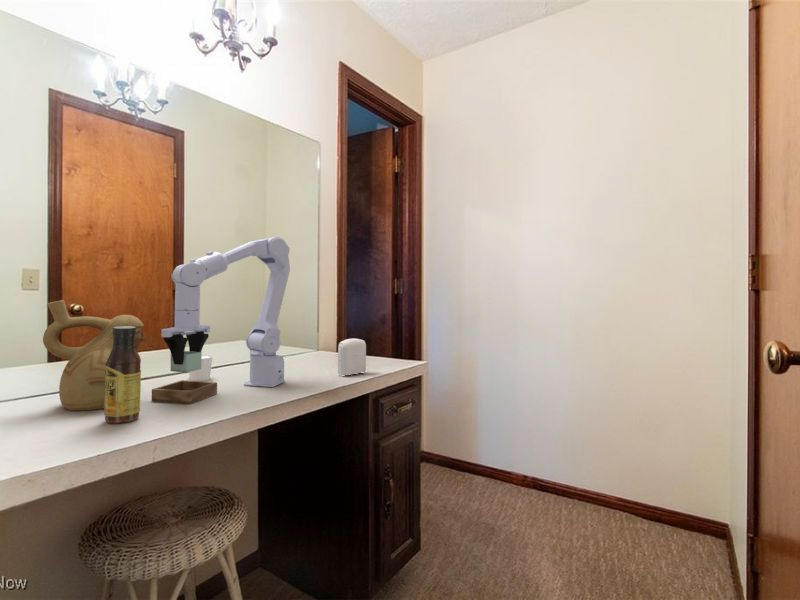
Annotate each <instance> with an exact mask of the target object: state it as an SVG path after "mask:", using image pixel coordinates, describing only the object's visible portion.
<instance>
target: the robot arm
mask: <svg viewBox="0 0 800 600" xmlns="http://www.w3.org/2000/svg"><path fill="white" fill-rule="evenodd" d="M289 253H290V247H289V245H288V244H287V242H286V240H285V239H284V238H282V237H280V236H273V237H269V238H259V239H256V240H252V241H249V242H246V243H243V244H242V245H239V246H237V247H235V248H232V249H231V250H228V251H227V252H224V253H221V252H219V251H214V252H213V251H207V252H206V253H205V254H206V255H204V256H202V257H199V258H197V259H195V258H192V259H190V260H189V263H185V264H179V265H177V266H176V267H175V268H174V269H173V271H172V272H173V273H172V274H171V275H170V276H171V280H172V281H173V283H174V284H175V291H174V327H167V328H161V338H163V341H164V342H165V343H166V345H167V347H168V349H169V351H170V356H171V355H172V358H173V362H174V364H179V365H181V364H183V361H184V351H186V346H187V342H188V351H193V352H202V350H203V348H204V345H205V343H206V342H207V340H208V338H209V336H210V335H209V333H210V330H211V327H210V326H211V325H209V324H208V325H207V324H201V325H200V320H201V318H200V317H201V285H202V284H203V282H204V281H206V280H208V279H211V278H212V277H215V276H217V275H220V274H222V273H224V272H226V271H227V270H228V267H229V265H230V264H234V263H236V262H238V261H240V260H241V261H242V260H244V259H245V258H246V259H247V258H248V257H256V258H258V259H259V260H260V261H261V262H262V263H264V264H265V265H266V266H267V268H268V269H269V270H270V274H269V277H268V281H267V286H266V289H265V293H264V297H263V301H262V305H261V307H260V308H261V309H260V313H259V317H258V321H256V322H255V323H254V325H252V328H251V331H250V332H249V334H248V335H247V336H246V338H245V339H246V340H245V344H246V347H247V349H248V350H249V381H247V382H244V383H243V385H244V386H252V387H264V388H265V387H266V388H267V387H268V388H274V387H276V386H278V385H280V384H282V383H285V382H286V379H285V359H284V356H282V355H280V354H277V352H278V350H279V349H280V347H281V340H280V339H281V338H280V335H281V329H280V328H279V326H278V321H279V316H280V312H281V309H282V305H283V304H282V303H283V300H284V296H285V292H286V288H287V283H288V279H289V276H290V272H291V267H290V259H289ZM184 336H185V337H184Z"/></svg>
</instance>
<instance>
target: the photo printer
mask: <svg viewBox="0 0 800 600" xmlns="http://www.w3.org/2000/svg"><path fill="white" fill-rule="evenodd" d="M337 347H338V348H337V375H338V374H339V375H349V374H355V373H361V372H365V371H366V372H367V370H366V369H367V368H366V367H367V344H366V341H365V340H363V339H360V338H355V337H354V338H347V339H344V340H342V341H340V342H339V343H338V346H337ZM366 372H365V373H366ZM339 375H338V376H339Z"/></svg>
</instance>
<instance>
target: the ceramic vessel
mask: <svg viewBox="0 0 800 600" xmlns="http://www.w3.org/2000/svg"><path fill="white" fill-rule="evenodd" d="M47 307H48V308H49V310H50V313H51V315H52V318H53V320H54V321H53V322H52V323H51V324H50V325H48V326H47V328H46V329H45V330H44V333H43V335H42V342H43V343H42V344H43V346H44V348H46V350H47V351H48V352H49V353H51V354H52V355H53V356H55V357H58V358H62V359H65V360H68V362H67V363H66V365H65V367H64V368H63V370H62V373H61V375H60V376H61V377H60V381H59V388H58V393H59V394H58V395H59V400H60V403H61V406H62V407H64V409H67V410H70V411H92V410H93V411H94V410H101V409H104V404H105V365H106V363H107V360H108V358H109V355H110V353H111V351H112V348H113V338H114V335H113V328H114V327H118V326H133V327H136V334H135V347H134V348H135V350H136V351H137V350H138V349H140V347H141V343H143V342H145V341H146V339H147V336H146V335H145V334H144V332H143V331H142V329H143V327H144V323H143V322H142V320H141V319H139V317H136V316H135V315H131V314H121V315H117V316H115V317H113V318H111V319H108V318H104V317H97V316H89V315H88V316H84V315H83V316H73V317H71V316H70V315H69V312H68V310H67V306H66V302H65V299H61V300H56V301H51V302H48V303H47ZM78 327H79V328H80V327H91V328H94V329H98V330H100V333H99V334H98V335H97V336H95V337H94V338H93V339H92V340H90V341H89V342H88V343H86V344H85V345H83V346H77V347H76V346H73V347H71V346H67V345H64V344H63V343H61V342H60V340H59V335H60V334H61V333H62V332H63V331H65V330H67V329H73V328H78Z"/></svg>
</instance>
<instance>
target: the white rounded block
mask: <svg viewBox="0 0 800 600" xmlns="http://www.w3.org/2000/svg"><path fill="white" fill-rule="evenodd" d="M212 365H213V356H210V355H202V358H201V369H199V370H195V371H191V372H188V375H189V378H188V379H189V381H202V382H208V381H209V380H211V374H212V373H211V372H212Z"/></svg>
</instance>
